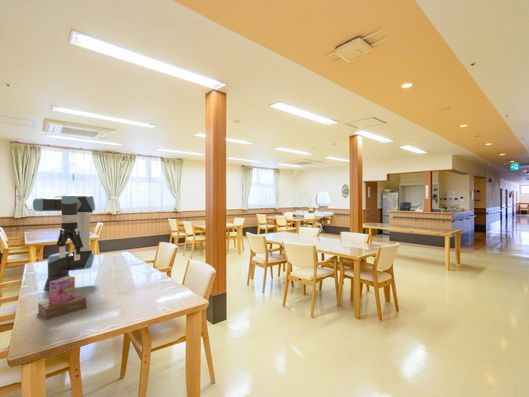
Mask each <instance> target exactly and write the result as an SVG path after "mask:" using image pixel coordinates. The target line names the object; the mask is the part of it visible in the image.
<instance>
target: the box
mask: <svg viewBox="0 0 529 397" xmlns="http://www.w3.org/2000/svg"><path fill="white" fill-rule="evenodd" d="M75 280H76V277H75V276H70V275H69V276H66V277H63V278H60V279H57V280H53V281H50V282H49V290H48V300H49V303H51V304H59V303H61V302H64V301H66V300H69V299H71V298H74V297H75V293H76V291H75V290H76V288H75V286H76V281H75Z"/></svg>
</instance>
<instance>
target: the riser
mask: <svg viewBox="0 0 529 397" xmlns="http://www.w3.org/2000/svg"><path fill="white" fill-rule="evenodd" d="M37 305H38V308H37V310H38V311H37V312H39V313H40V314H41V315H40V314H39V313H38V314H39V315H40V316H42V318H43V319H44V320H50V318H51V319H53V317H54V318H57V317H60V316H64V315H67V314H70V313H71V314H72V313H74V312H78V311H81V310H85V309H87V297H85V296H83V295H81V294H79V293H78V292H75V297H74V298H71V299H69V300H66V301H64V302H61V303H59V304H51V303H49V299H45V300H42V301H40V302H38V304H37Z"/></svg>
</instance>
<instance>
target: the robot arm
mask: <svg viewBox="0 0 529 397" xmlns="http://www.w3.org/2000/svg"><path fill="white" fill-rule="evenodd" d="M32 209H33V210H34V211H35V212H61V216H60V218H61V219H60V220H61V223H60V224H61V225H60V227H61V229H59V235H58V238H57V242H56V246H58V247H59V252H57V253H53V254H50V255H49V256H48V257H47V278H46V281H45V283H44V288H43V290H46V291H49V282H50V281H53V280H57V279H60V278H63V277H66V276H70V271H79V270H80V271H81V270H88V269H91V268H92V267H93V264H94V260H95V252H94V251H93V249H91V247H90V245H91V244H90V242H91V241H90V240H91V239H90V238H91V215H92V214H93V211H96V203H95V197H94V196H93V195H92V194H66V195H63V194H62V195H58V196H57V195H56V196H54V197H46V198H43V197H39V198H34V199H33V201H32ZM68 240H70V241H71V242H72V245H73V246H74V248H73V251H72V253H69V251H66V243H67V241H68Z"/></svg>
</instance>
